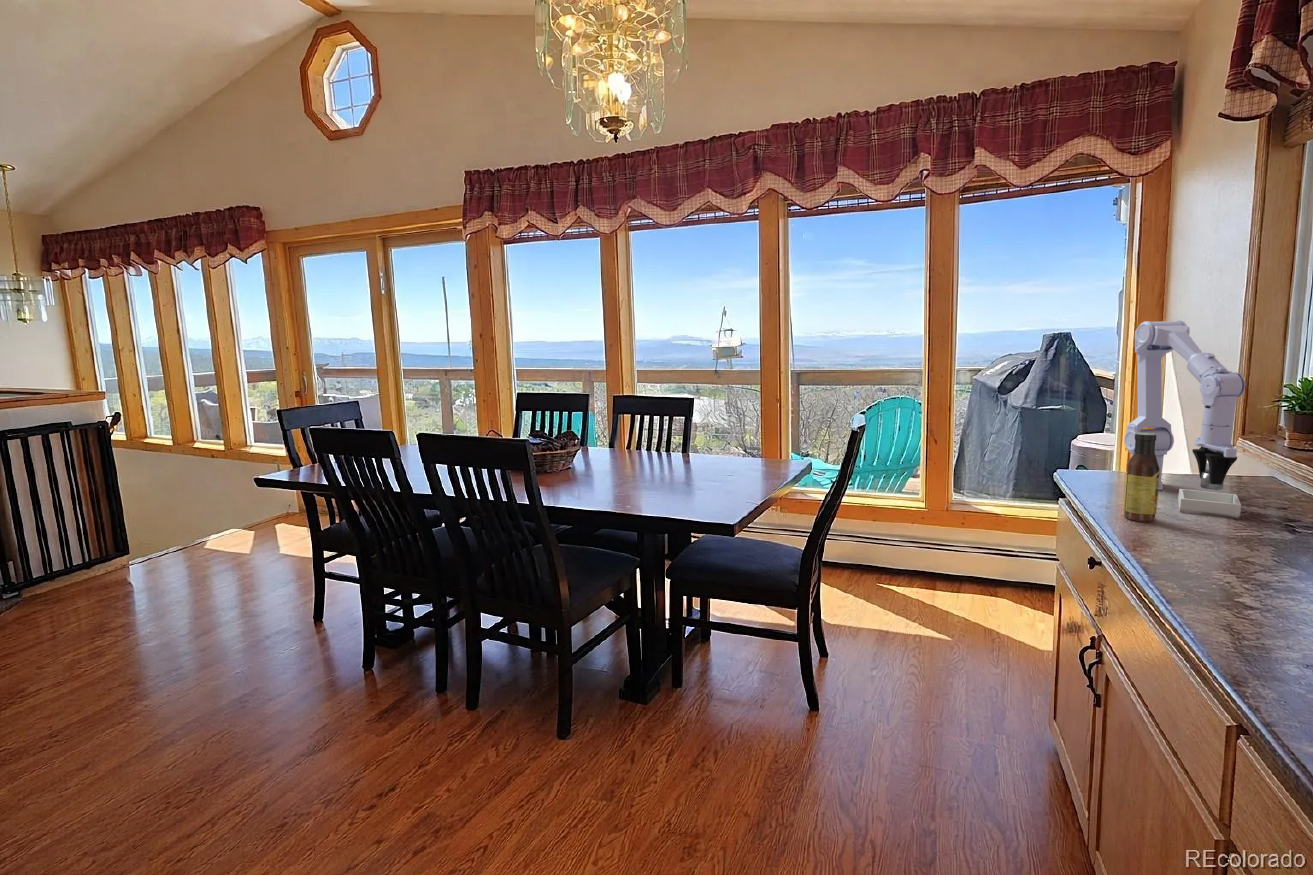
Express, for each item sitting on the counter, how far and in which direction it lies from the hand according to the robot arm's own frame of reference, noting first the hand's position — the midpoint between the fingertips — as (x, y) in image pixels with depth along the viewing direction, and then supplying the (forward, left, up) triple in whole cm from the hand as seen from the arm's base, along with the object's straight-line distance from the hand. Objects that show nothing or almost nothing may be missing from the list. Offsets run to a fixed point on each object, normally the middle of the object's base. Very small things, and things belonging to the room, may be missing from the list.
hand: (1210, 481), depth 166 cm
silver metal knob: (0, 0, -2) cm, 2 cm away
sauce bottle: (+16, -14, -7) cm, 22 cm away
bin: (0, 0, -7) cm, 7 cm away
